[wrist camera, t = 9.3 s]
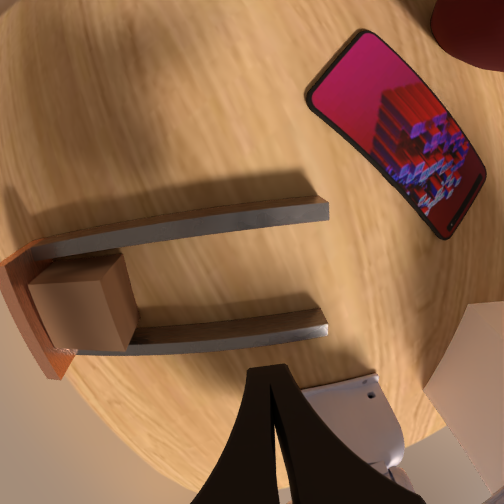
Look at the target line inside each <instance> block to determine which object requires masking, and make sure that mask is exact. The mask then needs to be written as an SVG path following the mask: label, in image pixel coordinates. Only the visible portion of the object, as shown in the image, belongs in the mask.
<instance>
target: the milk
mask: <svg viewBox="0 0 504 504" xmlns="http://www.w3.org/2000/svg"><path fill="white" fill-rule="evenodd" d="M423 391H424V393H425V394H426V396H427V397H428V398H429V400H430V401H431V403H432V404H433V405H434V407H435V408H436V410H437V411H438V413H439V414H440V415H441V417H442V418H443V420H444V421H445V423H446V424H447V426H448V427H449V429H450V430H451V431H452V433H453V434H454V436H455V437H456V439H457V440H458V442H459V443H460V445H461V447H462V448H463V450H464V451H465V453H466V454H467V456H468V457H469V459H470V460H471V462H472V463H473V465H474V467H475V468H476V470H477V471H478V473H479V475H480V477H481V478H482V480H483V482H484V483H485V484H486V486H487V488H488V490H489V492H490V493H491V495H493V494H494V493H495V492H496V491H498V490H499V489H500V488H501V487H503V486H504V301H498V302H487V303H475V304H468V305H467V308H466V310H465V312H464V315H463V317H462V319H461V321H460V324H459V326H458V328H457V330H456V332H455V334H454V336H453V338H452V340H451V342H450V344H449V346H448V348H447V350H446V352H445V354H444V355H443V357H442V359H441V361H440V363H439V364H438V366H437V368H436V370H435V371H434V373H433V375H432V376H431V378H430V380H429V381H428V383H427V384H426V386H425V388H424V389H423Z"/></svg>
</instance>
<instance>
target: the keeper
mask: <svg viewBox="0 0 504 504" xmlns="http://www.w3.org/2000/svg"><path fill="white" fill-rule="evenodd" d="M28 287H29V290H30V293H31V295H32V298H33V300H34V303H35V305H36V308H37V310H38V312H39V315H40V317H41V319H42V322H43V324H44V326H45V328H46V330H47V332H48V334H49V337H50V339H51V341H52V343H53V345H54V347H55V348H65V349H78V350H95V351H122V352H126V349H127V347H128V345H129V342H130V340H131V338H132V336H133V333H134V331H135V329H136V327H137V324H138V322H139V320H140V318H141V317H140V314H139V311H138V308H137V304H136V301H135V298H134V294H133V291H132V287H131V283H130V280H129V276H128V272H127V268H126V264H125V260H124V256H123V254H116V255H106V256H97V257H88V258H78V259H69V260H60V261H55V262H54V263H52V264H51V265H50V266H49V267H48V268H46V269H45V270H44V271H43V272H42V273H41V274H39V275H38V276H37V277H36V278H35V279H34V280H32V281H31V282H30V283H29V284H28Z"/></svg>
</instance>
